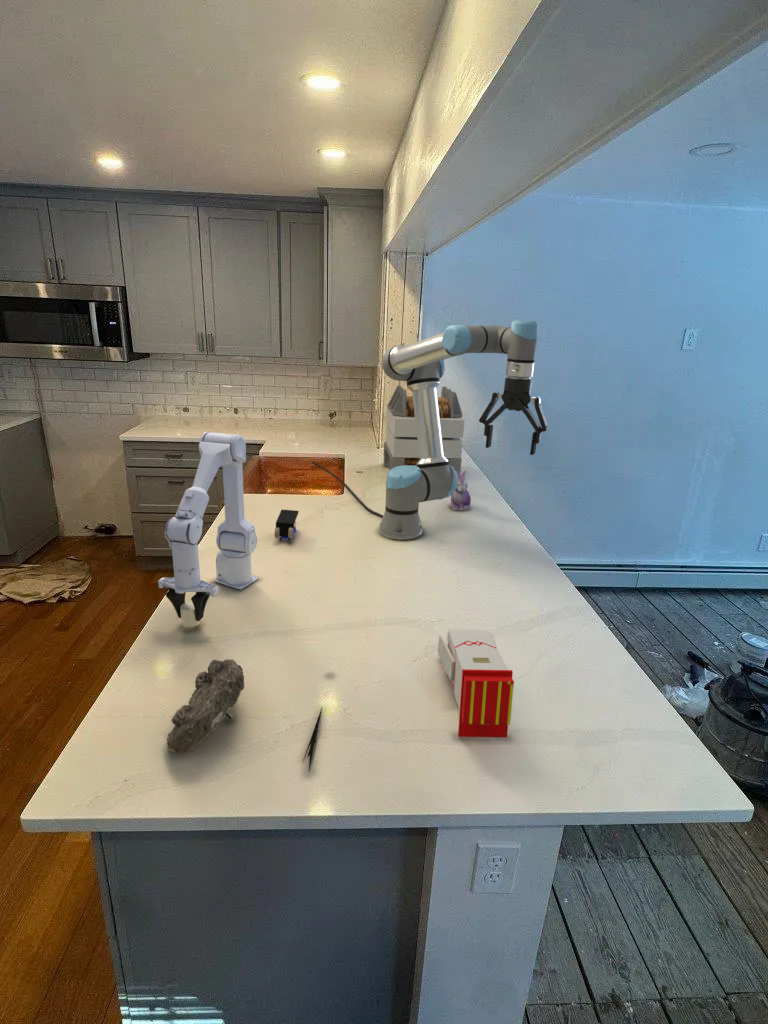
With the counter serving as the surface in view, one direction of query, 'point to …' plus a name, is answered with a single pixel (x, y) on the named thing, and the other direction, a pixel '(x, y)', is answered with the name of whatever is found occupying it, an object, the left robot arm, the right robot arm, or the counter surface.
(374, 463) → the counter surface
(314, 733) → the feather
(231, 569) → the left robot arm
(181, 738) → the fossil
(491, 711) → the toy
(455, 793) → the counter surface
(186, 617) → the can
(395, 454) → the white slatted crate
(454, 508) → the figurine
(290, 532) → the black wheeled cart
